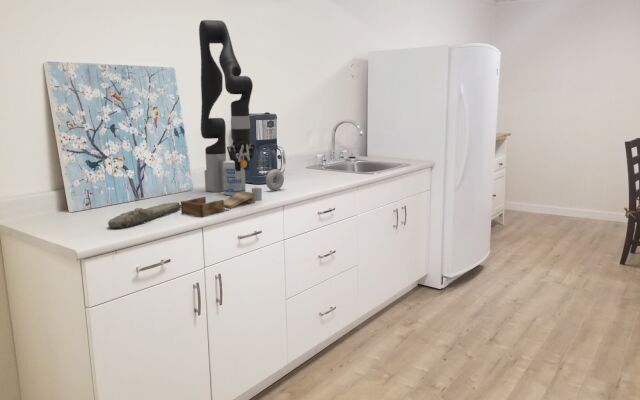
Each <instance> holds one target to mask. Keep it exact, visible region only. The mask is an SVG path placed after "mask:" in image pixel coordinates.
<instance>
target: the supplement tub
mask: <svg viewBox="0 0 640 400" xmlns="http://www.w3.org/2000/svg"><path fill="white" fill-rule="evenodd" d="M223 181H224V191H223V194H224V195H225V196H229V197H231V196H233V195H235V194H237V193H239V192H241V191H244V192H246V170H244V169H241V171H236V170H235V162H234V161H232V160H226V161H224V162H223Z"/></svg>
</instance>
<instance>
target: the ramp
mask: <svg viewBox="0 0 640 400" xmlns="http://www.w3.org/2000/svg"><path fill="white" fill-rule="evenodd" d="M223 200H224V209H232V208H234V207H236V206H238V205H240V204H241V203H248V204H255V203H256V200H255V195H254V193H252V191H250V192H249V191H245V192H244V191H241V192H239V193H237V194H235V195H233V196H229V197H227V198H226V199H223Z"/></svg>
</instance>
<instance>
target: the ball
mask: <svg viewBox="0 0 640 400" xmlns="http://www.w3.org/2000/svg"><path fill="white" fill-rule="evenodd" d="M240 163H241V169H244V168H246V166H247V162H246V160H244V159H243V158H241V159H240Z"/></svg>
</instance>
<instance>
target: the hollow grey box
mask: <svg viewBox="0 0 640 400" xmlns="http://www.w3.org/2000/svg"><path fill="white" fill-rule="evenodd" d="M251 193H254V195H255V202H257V201H261V200H262V199H263V197H262V196H263V194H262V187H256V186H255V187H252V188H251Z"/></svg>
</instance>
